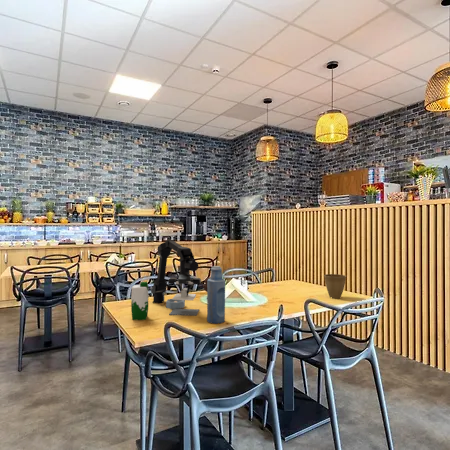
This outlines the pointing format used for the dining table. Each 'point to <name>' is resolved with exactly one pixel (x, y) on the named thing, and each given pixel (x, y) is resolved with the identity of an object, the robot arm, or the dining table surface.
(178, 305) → the dish
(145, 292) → the milk carton
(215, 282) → the bottle
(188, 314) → the mat
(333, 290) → the plant pot
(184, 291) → the cover
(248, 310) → the dining table surface
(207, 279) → the ice cream bowl
